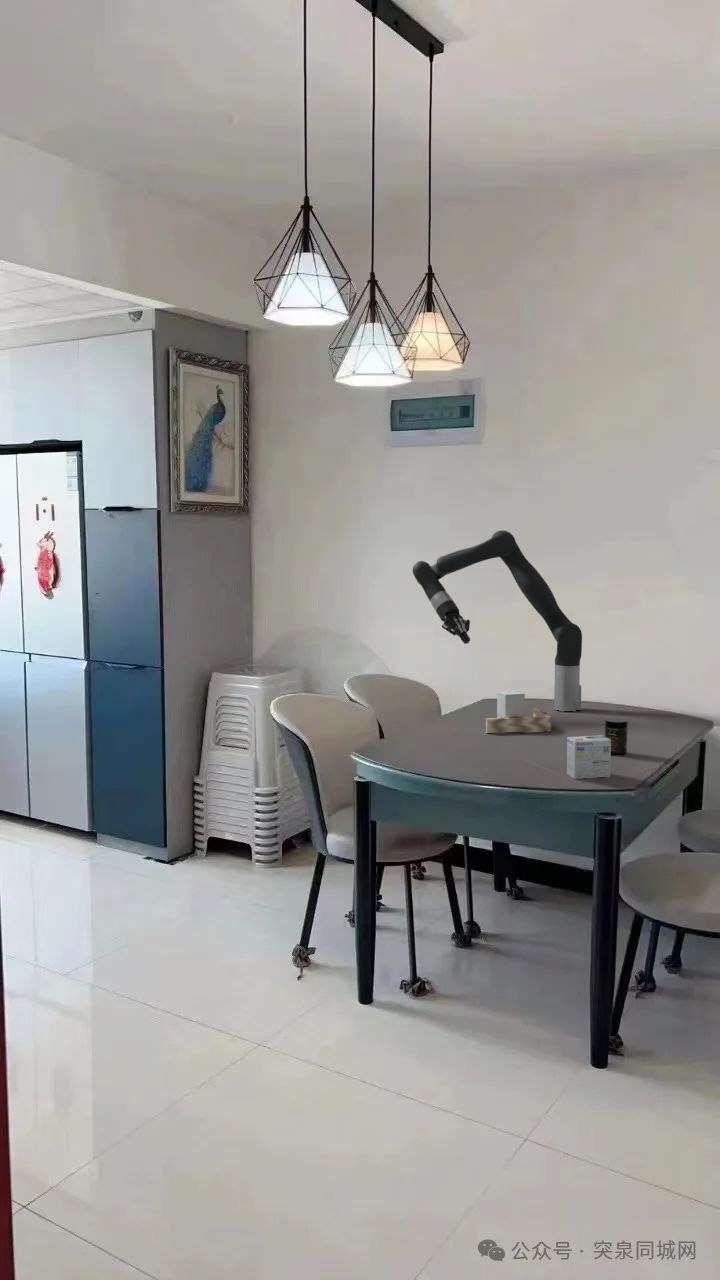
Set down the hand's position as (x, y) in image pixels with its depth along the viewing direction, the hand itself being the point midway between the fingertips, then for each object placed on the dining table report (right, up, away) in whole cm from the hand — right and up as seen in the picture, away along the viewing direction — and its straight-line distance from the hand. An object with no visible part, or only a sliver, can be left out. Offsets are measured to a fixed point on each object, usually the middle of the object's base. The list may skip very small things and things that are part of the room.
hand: (467, 642), depth 351 cm
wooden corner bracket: (+14, -29, -13) cm, 35 cm away
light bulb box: (+25, -37, -79) cm, 91 cm away
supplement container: (+39, -34, -53) cm, 74 cm away
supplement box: (+13, -30, -15) cm, 36 cm away
